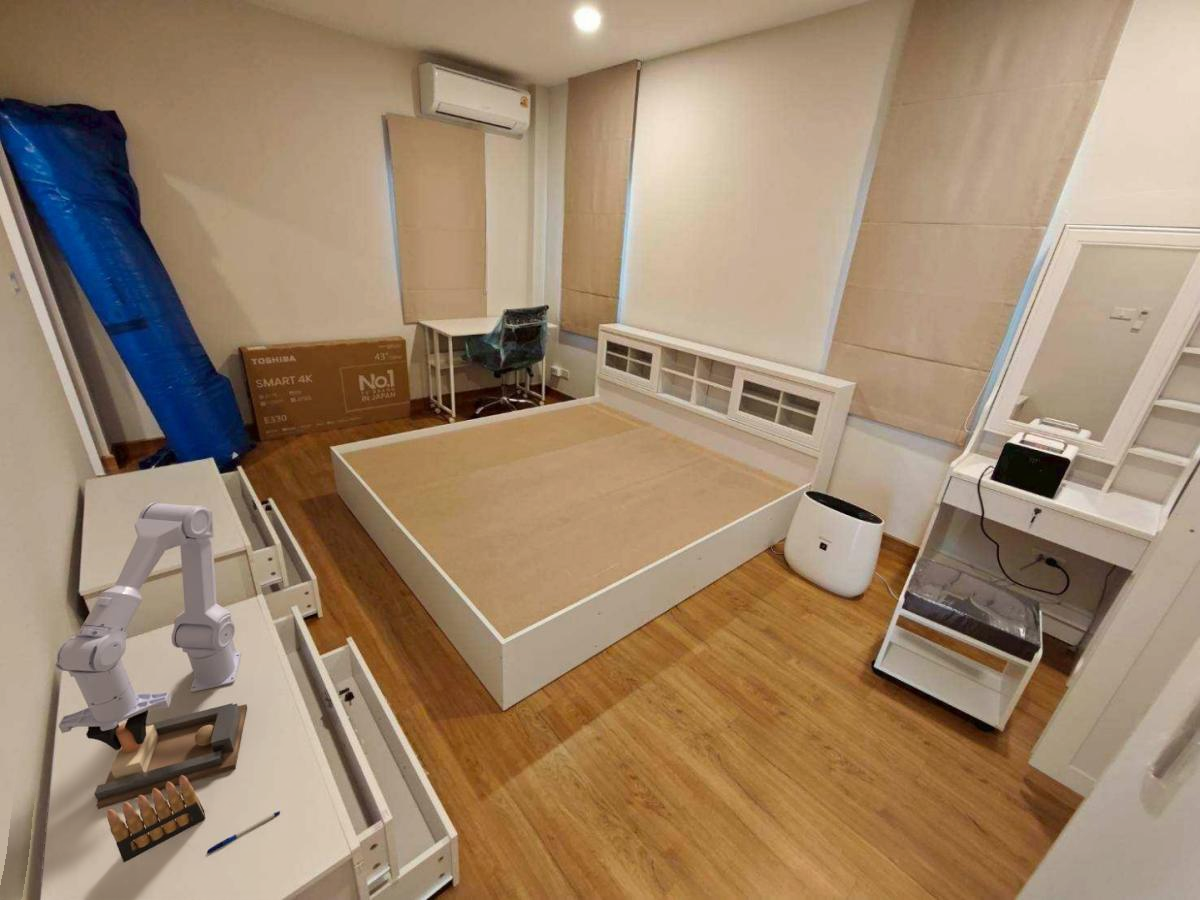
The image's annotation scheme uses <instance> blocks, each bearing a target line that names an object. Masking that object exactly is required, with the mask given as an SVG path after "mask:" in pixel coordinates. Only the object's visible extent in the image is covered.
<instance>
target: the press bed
mask: <svg viewBox="0 0 1200 900" xmlns="http://www.w3.org/2000/svg"><path fill="white" fill-rule="evenodd" d="M247 711H248V705H247V703H246V704H242V705H238V703H234V704H233V702H232V703H228V704H224V705H220V706H216V707H212V708H208V709H204V710H200V711H196V712H192V713H188V714H184V715H180V716H176V717H172V718H169V719H164V720H161V721H160V720H159V721H156V722H153V723H148V724H146V726H150V725H154V727H155V729H156V732H157V734H158V740H157V743H156V745H155V748H154V751H153V754H152V757H151V760H150V763H149V765H148V768H147V771H146V772H143V773H140V774H136V775H133V776H129V777H126V778H122V779H119V780H115V778H114V776H113V774H112V772H111V769H110V771H109V773H108V775H107V778H106V780H105V782H103V783H102V784H98V785H96V786H97V787H96V789H95V791H94V793H93V795H94V797H95V798H96V800H97V802H96V806H95V807H97V809H98V810H100V809H104V808H107V807H111V806H114V805H118V804H120V803H124V802H127V801H130V800H134V799H138V796H139V795H143V796H144V797H145V796H148V795H152V790H153V788H156V789H158V790H159V791H160V792H162V791H164V790H165V791H166V783H167V782H171V783H172V784H173V785H174V786H175V787H178V786H180V784H179V779H180V776H181V775H183V776H185V777H186V778H187V779H188V781H189V783H193V782H195V781H198V780H201V779H204V778H205V779H206V778H208V777H211V776H216V775H219V774H222V773H225V772H229V771H232V770H235V769H236V767H237V763H238V759H239V753H240V748H241V742H242V739H243V738H242V737H243V732H244V727H245V721H246V717H247ZM117 754H118V752H117ZM117 754H116V755H117ZM115 759H116V757H115ZM115 759H114V760H115Z"/></svg>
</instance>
